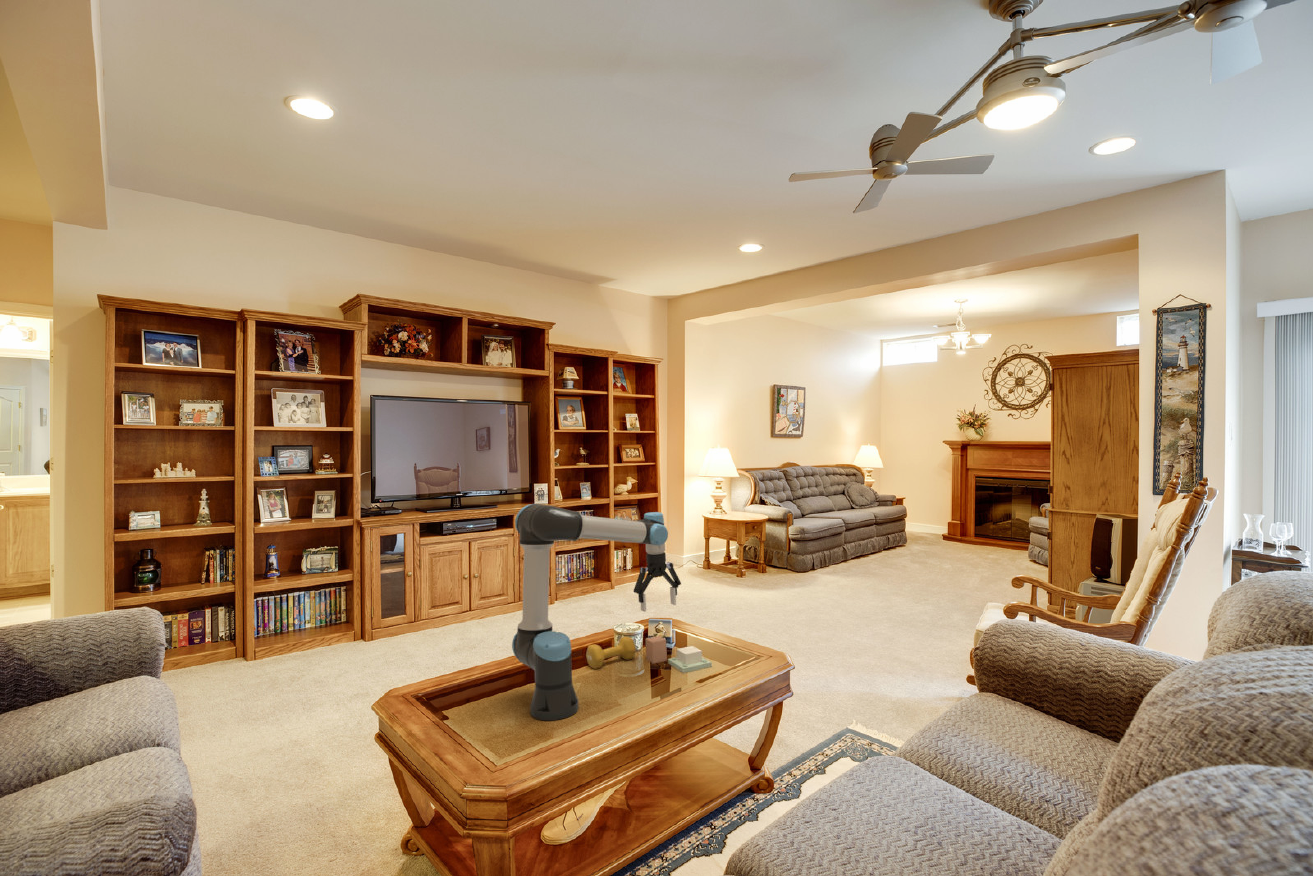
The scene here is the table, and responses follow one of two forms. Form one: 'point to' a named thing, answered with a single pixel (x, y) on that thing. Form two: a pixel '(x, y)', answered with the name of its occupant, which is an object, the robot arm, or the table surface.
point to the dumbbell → (610, 652)
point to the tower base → (690, 667)
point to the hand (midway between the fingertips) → (658, 607)
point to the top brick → (656, 649)
